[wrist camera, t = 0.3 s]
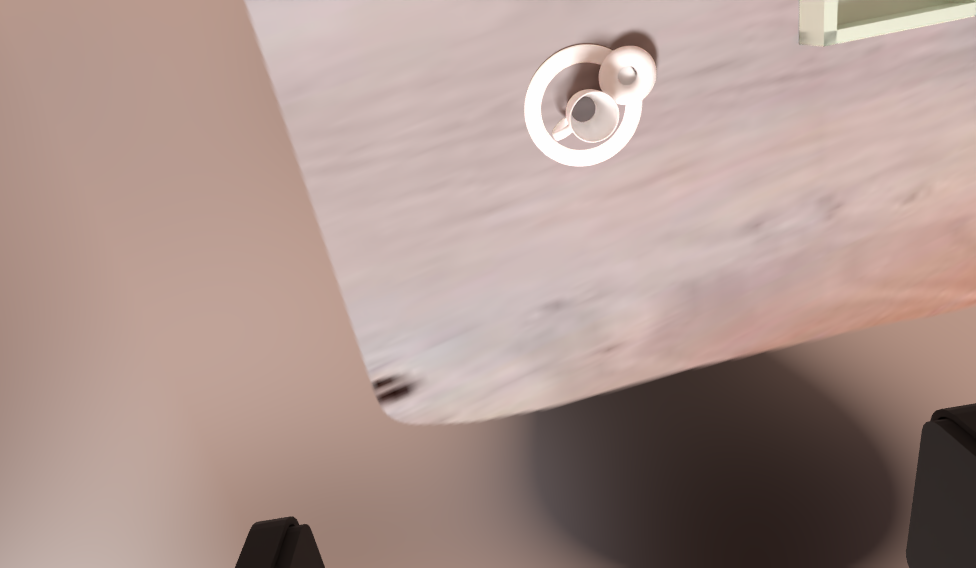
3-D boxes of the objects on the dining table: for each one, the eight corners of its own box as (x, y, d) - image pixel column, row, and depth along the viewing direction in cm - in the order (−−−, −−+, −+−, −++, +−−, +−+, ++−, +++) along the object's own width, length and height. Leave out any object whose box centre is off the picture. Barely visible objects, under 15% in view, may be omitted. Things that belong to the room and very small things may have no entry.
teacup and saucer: (647, 30, 41) (666, 32, 38) (656, 150, 44) (674, 163, 41) (514, 56, 42) (520, 61, 38) (533, 174, 45) (540, 189, 41)
